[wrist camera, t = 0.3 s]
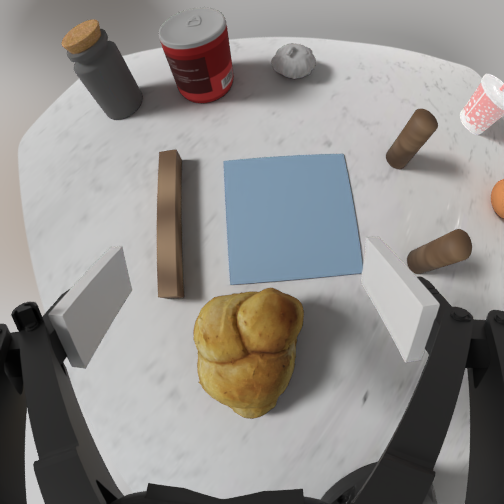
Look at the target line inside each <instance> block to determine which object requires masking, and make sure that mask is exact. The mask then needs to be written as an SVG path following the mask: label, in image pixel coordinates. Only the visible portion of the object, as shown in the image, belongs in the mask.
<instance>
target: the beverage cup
mask: <svg viewBox="0 0 504 504" xmlns="http://www.w3.org/2000/svg"><path fill="white" fill-rule="evenodd" d="M503 115H504V83H503V82H502V81H501V80H500V79H498V78H497V77H495V76H493V75H491V74H485V75H484V76H483V78H482V79H481V84H480V85H479V87H478V88H477V90H476V91H475V92H474V94H473V95H472V97H471V98H470V100H469V101H468V103H467V104H466V106H465V107H464V108H463V110H462V111H461V113H460V118H461V121H462V123H463V125H464V126H465V127H466V128H467V129H468V130H469V131H470V132H471V133H473V134H476V135H479V134H481V133H482V132H484V131H485V130H486V129H487V128H489V127H490V126H491V125H492V124H493V123H495V122H496V121H497V120H498V119H500V118H501V117H502V116H503Z"/></svg>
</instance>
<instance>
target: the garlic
mask: <svg viewBox="0 0 504 504" xmlns="http://www.w3.org/2000/svg"><path fill="white" fill-rule="evenodd" d="M315 63H316V60H315V57H314V55H313V54H312V50H311V49H310V48H308V47H305V46H303V45H300V44H293V43H291V44H287V45H284V46H283V47H282V48H280V49H278V50H277V52H276V55H275V56H274V57H273V59H272V61H271V64H272V67H273V69H274V70H275V71H276V72H278V73H280V74H282V75H284V76H285V77H288V78H292V79H296V78H302V77H304V76H306V75H310V73H311V71H312V70H313V69H314V67H315Z"/></svg>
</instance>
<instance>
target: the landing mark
mask: <svg viewBox="0 0 504 504" xmlns="http://www.w3.org/2000/svg"><path fill="white" fill-rule="evenodd" d="M224 182H225V202H226V221H227V239H228V256H229V272H230V285H235V284H249V283H261V282H274V281H285V280H297V279H308V278H319V277H329V276H339V275H349V274H359V273H362V270H363V265H362V257H361V250H360V242H359V236H358V229H357V223H356V217H355V211H354V205H353V199H352V194H351V188H350V183H349V178H348V173H347V168H346V164H345V159H344V154H319V155H296V156H279V157H264V158H252V159H240V160H230V161H224Z"/></svg>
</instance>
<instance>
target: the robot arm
mask: <svg viewBox="0 0 504 504" xmlns="http://www.w3.org/2000/svg"><path fill="white" fill-rule="evenodd" d="M361 284H362V285H363V287H364V289H365V291H366V292H367V294H368V296H369V297H370V299H371V301H372V303H373V304H374V306H375V308H376V310H377V311H378V313H379V315H380V317H381V319H382V320H383V322H384V324H385V326H386V328H387V329H388V331H389V333H390V335H391V337H392V339H393V340H394V342H395V344H396V346H397V348H398V350H399V352H400V354H401V356H402V357H403V359H404V361H405V363H408V362H413V361H418V360H421V359H422V356H423V353H424V351H425V349H426V351H427V352H428V354H429V357H428V360H427V362H426V365H425V367H424V369H423V372H422V374H421V377H420V380H419V382H418V384H417V387H416V389H415V391H414V393H413V396H412V398H411V400H410V402H409V404H408V407H407V409H406V411H405V413H404V415H403V417H402V419H401V421H400V423H399V425H398V427H397V429H396V431H395V433H394V435H393V436H392V438H391V440H390V442H389V444H388V446H387V447H386V449H385V451H384V453H383V454H382V456H381V458H380V459H379V461H378V462H377V463H373V464H370V465H367V466H364V467H362V468H360V469H358V470H356V471H354V472H352V473H350V474H348V475H347V476H345V477H344V478H342V479H341V480H339V481H338V482H337V483H336V484H334V485H333V486H332V487H331V488H330V489H329V490H328V491H327V492H326V493H325V495H324V496H323V497H322V499H321V500H319V499H315V498H310V497H304V496H303V489H294V490H278V491H262V492H258V493H253V494H249V495H244V496H239V497H234V498H229V499H218V498H215V497H211V496H208V495H204V494H201V493H198V492H195V491H191V490H188V489H185V488H179V487H171V486H164V485H157V484H151V483H148V487H147V491H144V492H137V493H133V494H129V495H126V496H124V495H123V494H122V493H121V491H120V490H119V489H118V487H117V486H116V484H115V482H114V480H113V479H112V477H111V475H110V473H109V471H108V469H107V467H106V465H105V463H104V461H103V459H102V457H101V455H100V453H99V451H98V449H97V447H96V445H95V442H94V440H93V438H92V436H91V434H90V431H89V429H88V426H87V424H86V422H85V419H84V417H83V414H82V412H81V409H80V406H79V404H78V401H77V398H76V396H75V393H74V390H73V387H72V384H71V381H70V378H69V375H68V372H67V369H66V367H65V365H64V363H63V362H64V360H65V358H66V357H67V358H68V360H69V362H70V364H71V366H72V367H79V368H85V369H86V367H87V365H88V364H89V362H90V360H91V358H92V356H93V355H94V353H95V351H96V349H97V348H98V346H99V344H100V342H101V341H102V339H103V337H104V335H105V334H106V332H107V330H108V329H109V327H110V325H111V324H112V322H113V320H114V319H115V317H116V315H117V314H118V312H119V310H120V309H121V307H122V306H123V304H124V302H125V301H126V299H127V298H128V296H129V294H130V293H131V291H132V287H131V283H130V279H129V274H128V270H127V266H126V261H125V257H124V252H123V247H122V246H120V247H110V248H109V249H108V250H107V251H106V252H105V253H104V254H103V255H102V256H101V257H100V258H99V259H98V260H97V261H96V262H95V263H94V264H93V265H92V266H91V267H90V268H89V270H88V271H87V272H86V273H85V274H84V275H83V276H82V277H81V278H80V279H79V280H78V281H77V282H76V284H75V285H74V286H73V287H72V288H71V289H69V290H68V291H66V292H65V293H63V294H62V295H61V296H60V297H59V298H58V300H57V301H56V302H55V303H54V304H53V306H51V307H50V309H49V310H48V311H47V312H46V313H45V314H44V316H43V317H42V315H41V313H40V310H39V308H38V305H37V304H36V303H35V302H27V303H23V304H21V305H19V306H18V307H16V308H15V309H14V310H13V312H12V314H11V315H12V318H13V320H14V322H15V324H16V326H17V329H18V330H19V332H13V333H10V332H9V330H8V328H7V326H6V324H0V504H27V501H26V488H25V428H26V413H27V408H28V414H29V418H30V423H31V428H32V432H33V437H34V441H35V445H36V449H37V453H38V456H39V460H38V461H35V462H34V464H33V465H34V471H35V475H36V478H37V481H38V484H39V487H40V490H41V494H42V497H43V499H44V502H45V504H437V500H436V496H435V493H434V489H433V485H432V482H433V480H434V477H435V472H434V471H433V468H434V465H435V463H436V460H437V458H438V455H439V453H440V450H441V448H442V445H443V442H444V439H445V437H446V434H447V431H448V428H449V425H450V422H451V419H452V415H453V412H454V409H455V405H456V402H457V398H458V395H459V391H460V387H461V383H462V379H463V375H464V370H465V368H467V370H468V381H469V397H470V457H469V472H468V483H467V492H466V500H465V504H504V311H499V310H492V311H490V312H489V313H488V316H487V318H486V320H474V319H473V316H472V315H471V314H470V313H469V312H468V311H467V310H465V309H462V308H459V307H452V306H451V305H450V304H449V303H448V302H447V301H446V300H445V298H444V297H443V296H442V295H441V294H439V292H438V290H437V289H435V287H434V286H433V285H432V284H431V283H430V282H429V281H428V280H426V279H424V278H423V277H416V276H415V275H414V274H413V272H412V271H411V270H410V269H409V268H408V267H407V266H406V265H405V264H404V263H403V261H402V260H401V259H400V258H399V257H398V256H397V255H396V254H395V253H394V252H393V251H392V250H391V249H390V248H389V246H388V245H387V244H386V243H385V242H384V241H383V240H382V239H381V238H380V237H366V244H365V253H364V262H363V270H362V278H361Z"/></svg>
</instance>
